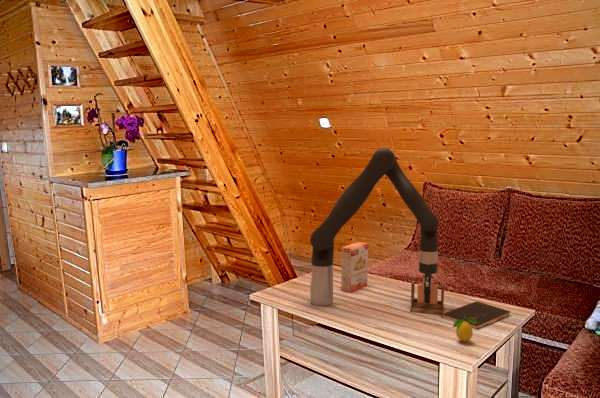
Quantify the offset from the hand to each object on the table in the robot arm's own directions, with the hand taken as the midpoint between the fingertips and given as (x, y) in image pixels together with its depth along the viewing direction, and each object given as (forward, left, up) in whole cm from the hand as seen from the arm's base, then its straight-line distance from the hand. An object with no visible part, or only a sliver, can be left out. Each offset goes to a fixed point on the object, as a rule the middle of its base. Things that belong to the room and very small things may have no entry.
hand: (427, 300), depth 212 cm
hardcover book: (+19, -4, -4) cm, 20 cm away
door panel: (0, 0, -1) cm, 1 cm away
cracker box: (-34, +19, -4) cm, 39 cm away
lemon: (+14, -30, -4) cm, 33 cm away
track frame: (0, 0, -3) cm, 3 cm away
